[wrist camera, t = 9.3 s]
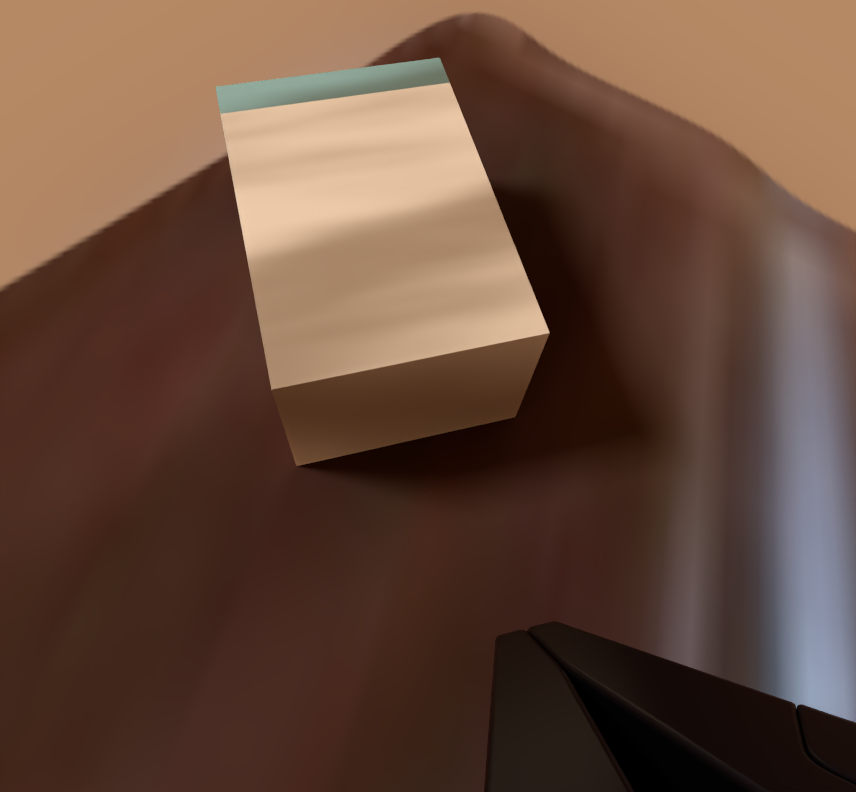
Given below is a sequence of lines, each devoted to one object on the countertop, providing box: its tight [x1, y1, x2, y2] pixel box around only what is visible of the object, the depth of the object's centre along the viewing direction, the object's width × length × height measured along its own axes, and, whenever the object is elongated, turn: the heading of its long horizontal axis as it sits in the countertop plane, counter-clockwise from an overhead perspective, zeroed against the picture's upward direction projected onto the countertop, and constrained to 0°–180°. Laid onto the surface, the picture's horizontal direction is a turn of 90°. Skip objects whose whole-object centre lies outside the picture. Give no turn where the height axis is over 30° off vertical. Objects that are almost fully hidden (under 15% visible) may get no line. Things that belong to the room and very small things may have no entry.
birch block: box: [216, 58, 550, 466], centre depth 18 cm, size 4×6×9 cm
